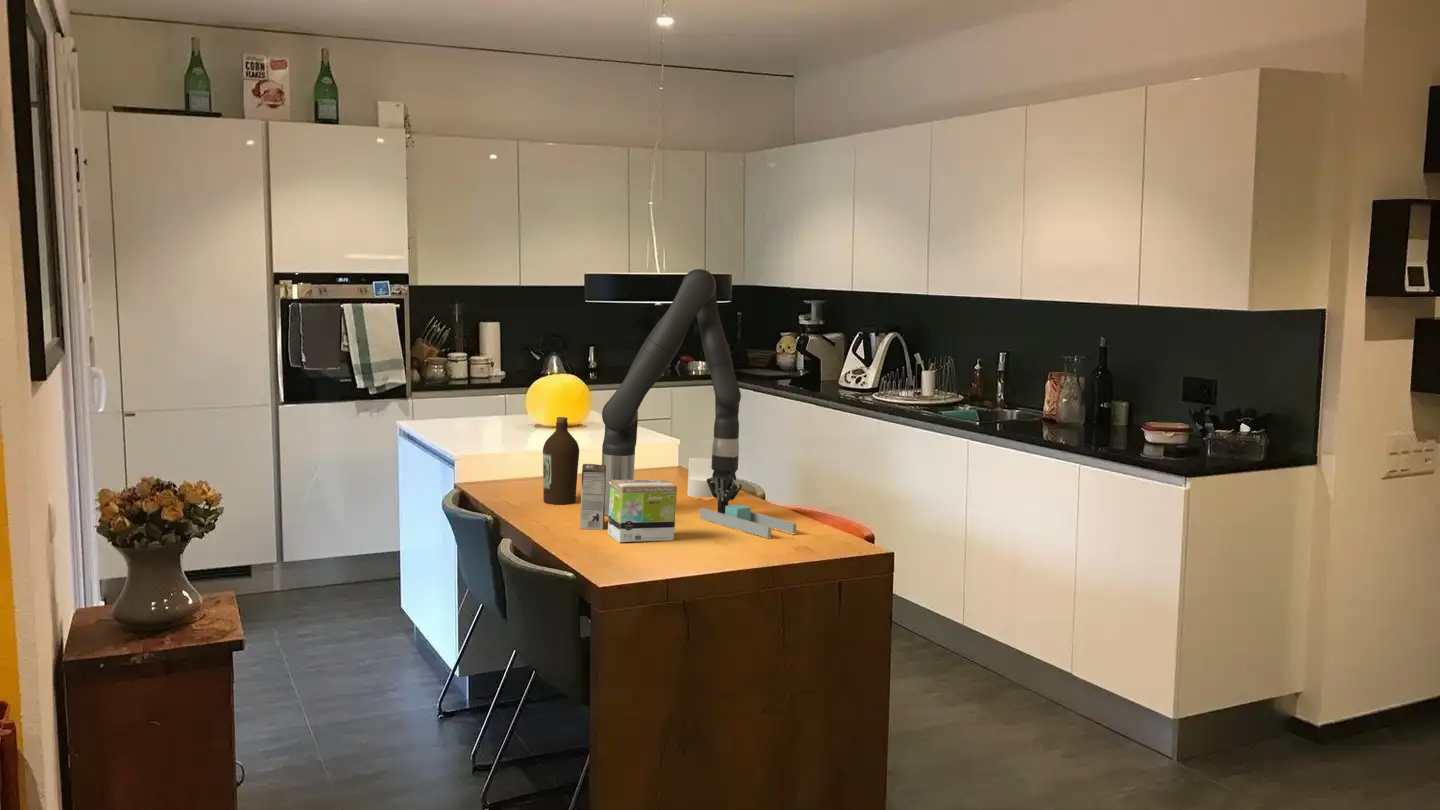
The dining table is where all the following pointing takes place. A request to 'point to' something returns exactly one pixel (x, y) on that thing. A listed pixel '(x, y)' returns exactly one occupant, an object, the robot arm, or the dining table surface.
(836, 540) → the dining table surface
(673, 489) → the tea box
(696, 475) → the cylinder with rectangular tab
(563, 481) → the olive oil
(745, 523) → the rails
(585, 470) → the coffee box
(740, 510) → the teal block
